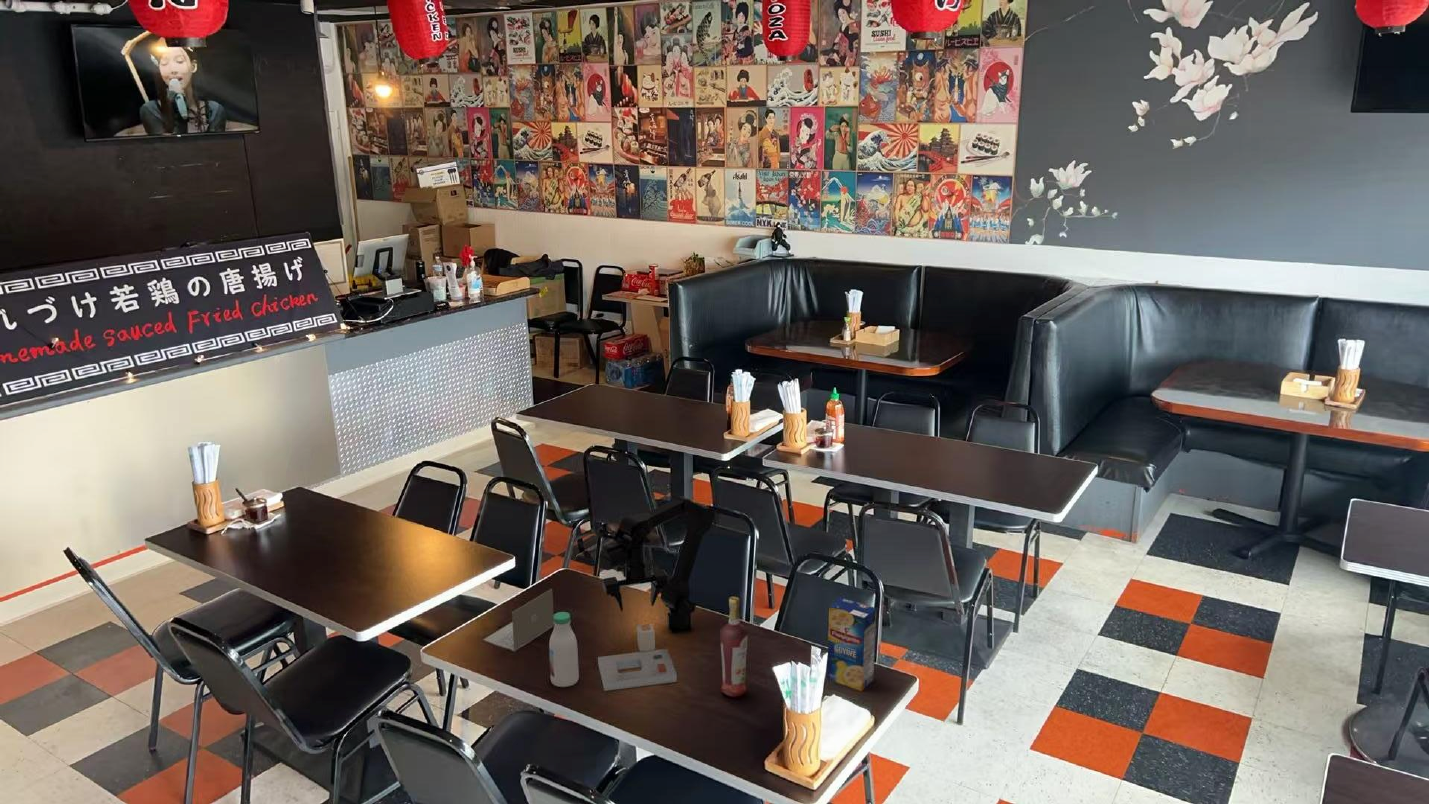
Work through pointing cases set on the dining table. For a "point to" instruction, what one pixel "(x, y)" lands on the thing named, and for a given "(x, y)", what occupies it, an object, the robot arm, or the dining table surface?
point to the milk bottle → (563, 652)
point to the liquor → (733, 652)
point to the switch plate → (652, 671)
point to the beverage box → (851, 643)
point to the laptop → (526, 623)
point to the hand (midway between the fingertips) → (636, 608)
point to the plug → (646, 637)
